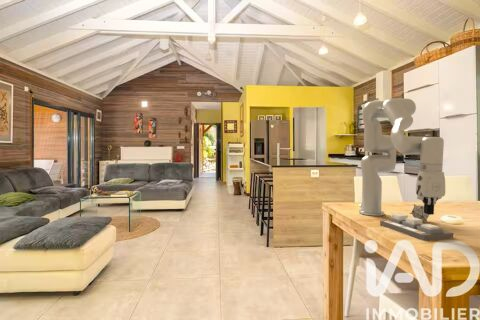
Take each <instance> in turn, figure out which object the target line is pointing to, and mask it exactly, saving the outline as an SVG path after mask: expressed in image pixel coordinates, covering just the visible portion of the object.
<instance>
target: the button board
mask: <svg viewBox="0 0 480 320" xmlns="http://www.w3.org/2000/svg"><path fill="white" fill-rule="evenodd" d="M423 224H425V223H423ZM379 225H380V226H382V227H385V228H387V229H391V230H394V231H396V232H399V233H402V234H404V235H407V236H410V237H412V238H415V239H418V240H421V241H433V240H446V239H447V238H449V239H454V232H451V231H448V230H444V228H440V227H439V229H432V230H430V229H426V228H423V227H421V225H422V224H415V225H413V224H410V223H407V222H406V220H397V219H394V218H392V216H390V217H388V219H386V220H380V221H379Z"/></svg>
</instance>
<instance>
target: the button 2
mask: <svg viewBox="0 0 480 320" xmlns="http://www.w3.org/2000/svg"><path fill="white" fill-rule="evenodd" d="M421 227H423V228H426V229H430V230H432V229H439V228H440V226H438V225H434V224H432V223H424V224H422V225H421Z"/></svg>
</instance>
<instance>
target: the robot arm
mask: <svg viewBox="0 0 480 320" xmlns="http://www.w3.org/2000/svg"><path fill="white" fill-rule="evenodd" d="M416 105H417V104H416V102H415V101H414V100H412V99H410V98H403V97H402V98H398V97H397V98H395V97H394V98H388V99H386V100H382V101H381V100H375V101H368V102H366V103H365V104H364V105H363V108H362V110H361V111H362V112H361V113H362V114H361V117H362V121H363V126H364V127H363V131H364V132H363V133H364V134H363V148H364V150H365V152H366V153H373V154H369V155H368V154H367V155H365V156H363V157H362V158H361V160H360V169H361V175H362V176H361V177H362V178H361V179H362V181H361V182H362V184H361V186H362V188H361V189H362V190H361V191H362V192H361V194H362V197H361V198H362V199H361V203H360V204H359V207H360V208H361V209H359V210H358V213H359V214H361V215H365V216H372V217H373V216H374V217H377V216H378V217H379V216H384V215H385V212H384V211H383V210H382V198H383V197H382V187H383V186H382V184H383V182H382V179H381V176H380V175H379V174H380V173H381V174H384V173H385V174H389V173H393V171H394V170H395V169H396V165H397V152H398V153H400V154H402V155H420V156H419V159H420V160H419V166H418V168H419V171H418V173H417V177H416V178H417V179H416V182H415V183H416V184H415V193H416V195H417V197H416V199H417V200H419V201H421V202H422V204H423V206H424V213H426V214H429V216H430V215H434V214H435V205H436V203H437V201H439V200H441V199H442V198H443V197H445V195H446V178H445V172H444V171H443V162H444V146H445V144H444V143H445V142H444V138H443V137H441V136H440V137H439V136H409V135H408V136H406V135H405V134H404V132H403V131H405V130H407V129H409V128H410V127H411V126H412V125H413V123H414V118H413V117H412V116H413V115H414V114H415V113H416V109H417V106H416ZM378 119H388V121H389V123H390V124H391V126H392V128H391V131H390V134H383V132H382V124H381V122H380V121H379V120H378ZM374 153H378V154H374ZM380 153H382V154H380Z"/></svg>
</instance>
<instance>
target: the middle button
mask: <svg viewBox="0 0 480 320" xmlns="http://www.w3.org/2000/svg"><path fill="white" fill-rule="evenodd" d="M406 222H407V223H410V224H413V225H415V224H423V222H424V221H423V220H422V219H418V218H415V217H413V216H412V217H408V218H406Z"/></svg>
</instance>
